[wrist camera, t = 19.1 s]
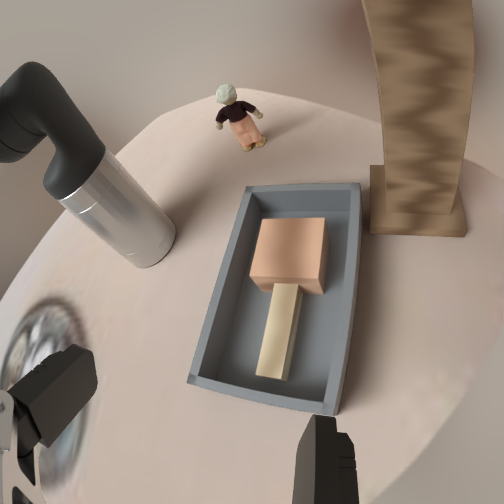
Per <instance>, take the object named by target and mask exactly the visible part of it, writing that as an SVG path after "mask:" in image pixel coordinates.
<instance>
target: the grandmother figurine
mask: <svg viewBox="0 0 504 504" xmlns="http://www.w3.org/2000/svg"><path fill="white" fill-rule="evenodd" d="M216 99H217V100H218V101H217V102H219V103H223V104H225V105H227V106H225V107H223V108H222V109H221V110H220V111H219V113H218V115H217V117H216V121H217V129H218V130H221V129H222V128H223V122H225V121H226V120H227V119H229V120H230V121H229V122H230V125H231V127H232V130H233V132H234V134H235V136H236V137H237V139H238V140H239V142H240V144H241V145H242V148H243V151H245V152H247V151H250V150H251V149H252V144H253V143H254V142H255V147H257V148H258V147H262V146H263V145H264V144H265V142H266V137H264V136H261V134H260V132H259V131H258V129H257V127H256V125H255V123H254V122H253V120H252V118H251V117H250V116H249V115H248V113H247V112H246V111H248V112H250V113H253V114H254V115H256V117H257V118H259V119H260V118H262V117H263V114H262V113H260V112H259V110H258V109H256V107H255V106H253V105H251V104H249V103H247V102H245V101H236V99H237V94H236V90H235V88H234V87H233V85H231V84H229V83H226V84H222V85H221V86H220V87H219V88H218V90H217V93H216Z"/></svg>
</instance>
